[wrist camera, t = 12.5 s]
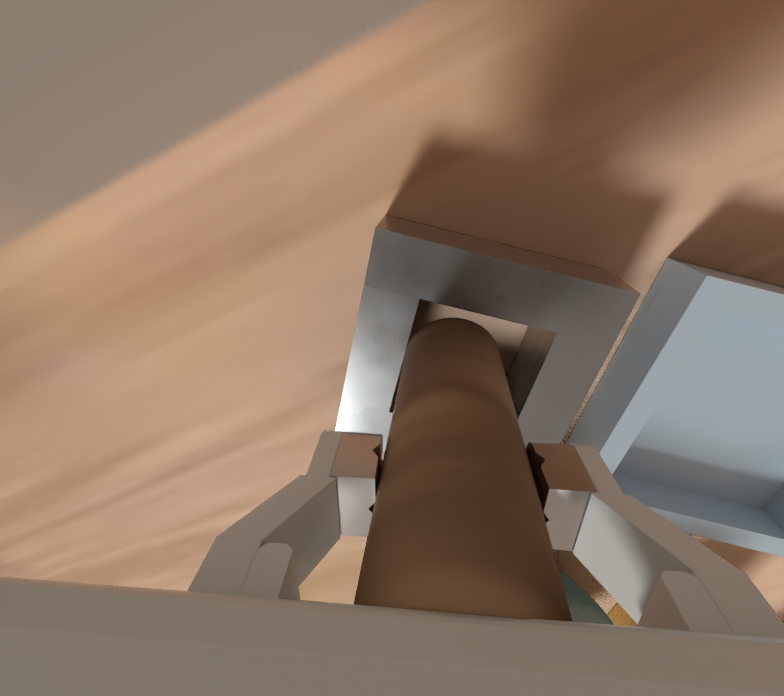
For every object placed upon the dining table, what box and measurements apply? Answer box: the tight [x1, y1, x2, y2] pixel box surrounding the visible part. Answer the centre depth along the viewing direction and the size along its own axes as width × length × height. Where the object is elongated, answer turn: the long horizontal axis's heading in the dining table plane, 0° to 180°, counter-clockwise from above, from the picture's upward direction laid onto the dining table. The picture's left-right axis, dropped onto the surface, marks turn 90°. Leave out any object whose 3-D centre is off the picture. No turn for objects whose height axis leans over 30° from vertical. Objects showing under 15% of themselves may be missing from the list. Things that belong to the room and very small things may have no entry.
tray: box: [566, 258, 784, 557], centre depth 17 cm, size 11×11×2 cm
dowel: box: [354, 318, 573, 622], centre depth 10 cm, size 4×4×10 cm
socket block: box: [335, 215, 640, 451], centre depth 16 cm, size 9×9×3 cm
